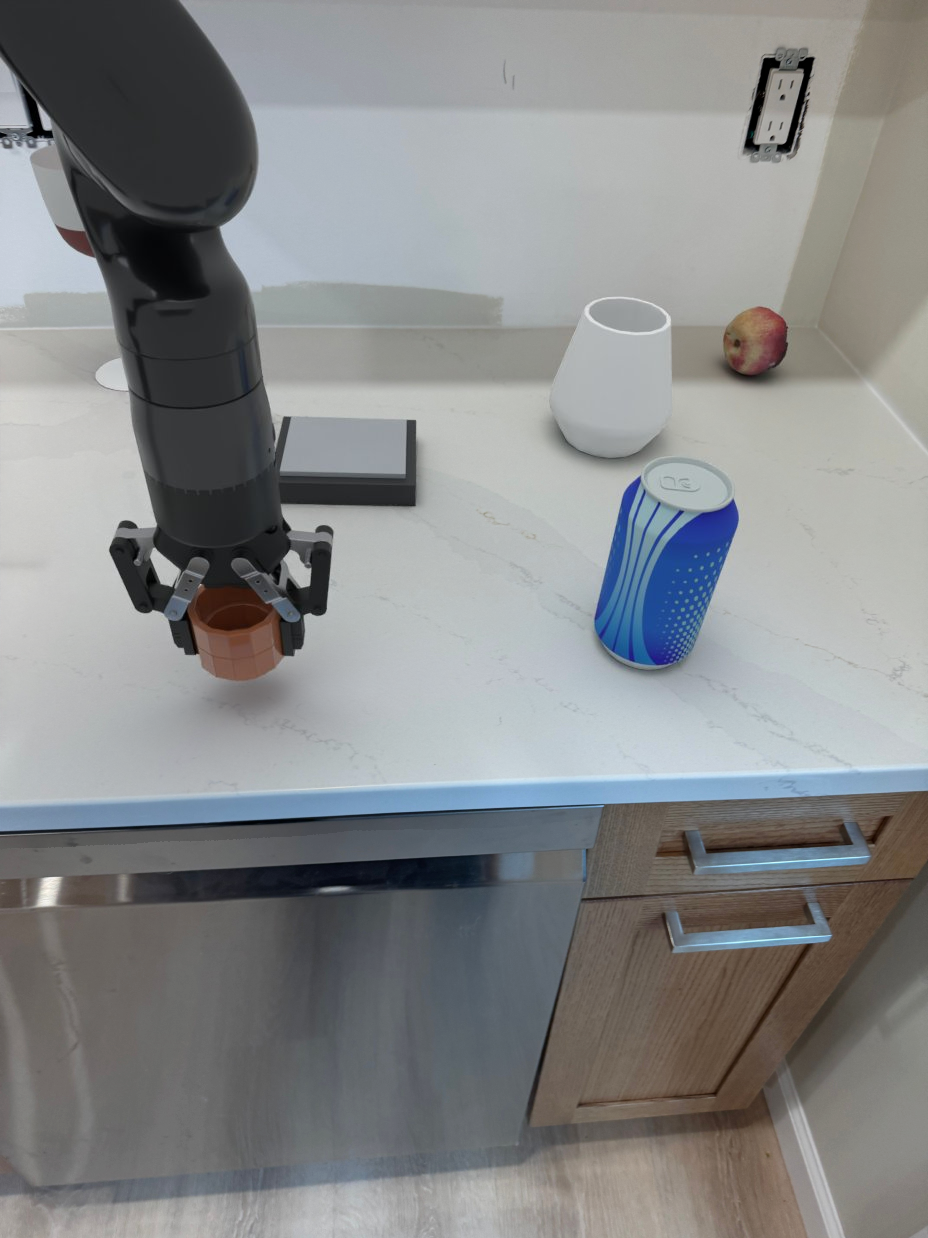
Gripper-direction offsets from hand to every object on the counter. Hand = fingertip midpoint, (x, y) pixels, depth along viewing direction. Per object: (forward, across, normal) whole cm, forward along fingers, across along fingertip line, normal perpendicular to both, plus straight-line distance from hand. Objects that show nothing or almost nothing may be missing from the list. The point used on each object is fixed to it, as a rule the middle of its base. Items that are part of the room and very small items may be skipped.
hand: (242, 646), depth 59 cm
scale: (+5, +6, +30) cm, 31 cm away
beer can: (+5, +32, +6) cm, 32 cm away
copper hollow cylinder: (+1, 0, 0) cm, 1 cm away
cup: (+5, +34, +38) cm, 51 cm away
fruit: (+5, +55, +53) cm, 77 cm away
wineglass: (+6, -20, +49) cm, 53 cm away
